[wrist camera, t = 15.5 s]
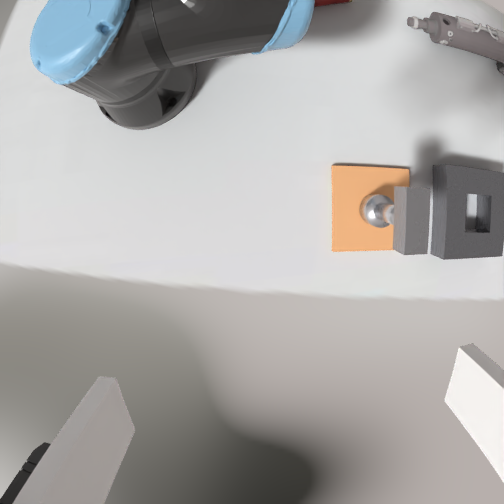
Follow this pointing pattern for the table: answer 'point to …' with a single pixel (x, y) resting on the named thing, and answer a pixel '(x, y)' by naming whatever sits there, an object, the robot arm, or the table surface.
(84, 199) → the table surface
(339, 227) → the key mat
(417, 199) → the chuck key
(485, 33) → the hydraulic cylinder
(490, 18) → the table surface
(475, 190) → the block
